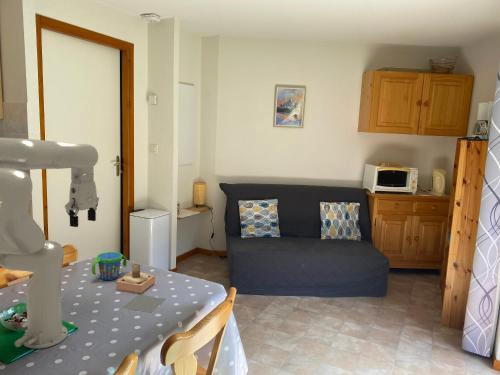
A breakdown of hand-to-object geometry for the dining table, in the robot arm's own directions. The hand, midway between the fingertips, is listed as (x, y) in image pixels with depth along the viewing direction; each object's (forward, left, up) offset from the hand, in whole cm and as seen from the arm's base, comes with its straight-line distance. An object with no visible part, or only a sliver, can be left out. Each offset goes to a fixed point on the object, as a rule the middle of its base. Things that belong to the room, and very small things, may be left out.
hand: (83, 223), depth 141 cm
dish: (+17, -12, -30) cm, 37 cm away
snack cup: (+22, +4, -31) cm, 38 cm away
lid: (+17, -12, -26) cm, 34 cm away
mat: (+5, -23, -30) cm, 38 cm away
